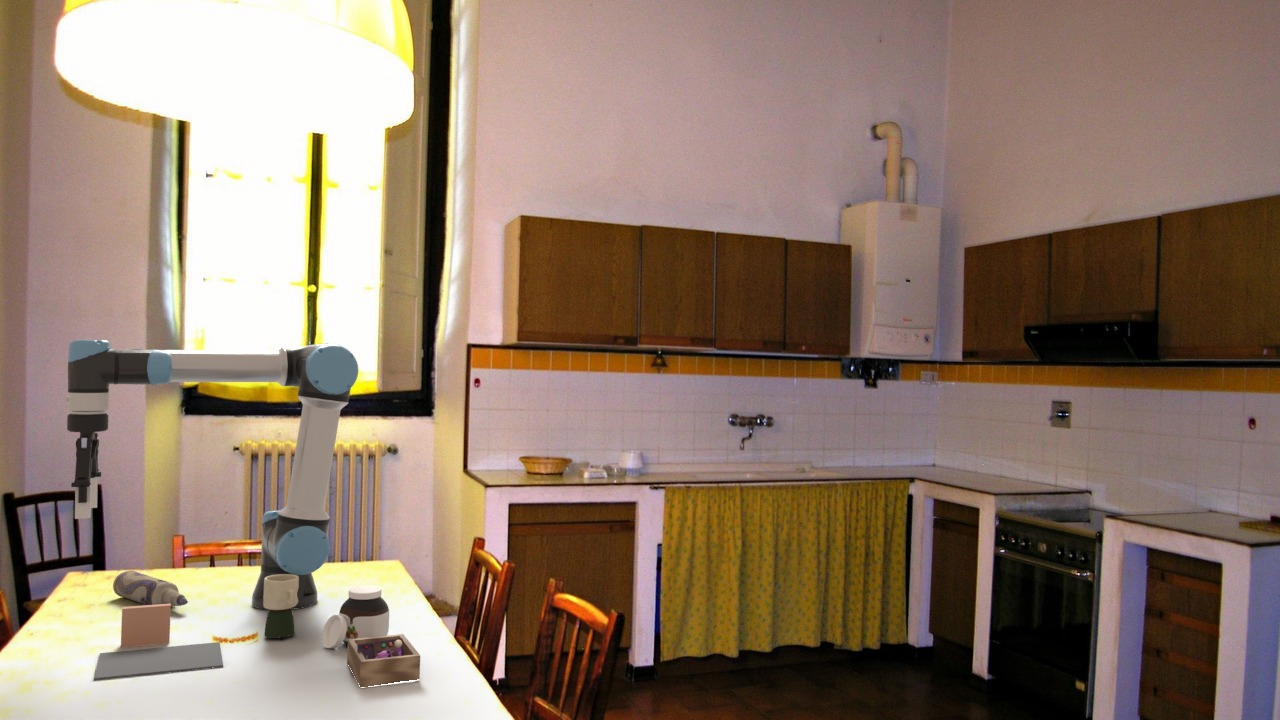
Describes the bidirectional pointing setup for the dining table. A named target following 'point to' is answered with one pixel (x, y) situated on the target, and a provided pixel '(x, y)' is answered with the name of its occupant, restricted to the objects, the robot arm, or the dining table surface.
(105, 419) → the robot arm
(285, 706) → the dining table surface
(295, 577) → the character mug
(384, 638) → the open wooden trinket box
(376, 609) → the spread jar
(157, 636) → the terracotta tile
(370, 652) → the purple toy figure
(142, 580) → the decorative bottle
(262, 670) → the dining table surface
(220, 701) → the dining table surface
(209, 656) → the rubber mat
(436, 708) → the dining table surface
